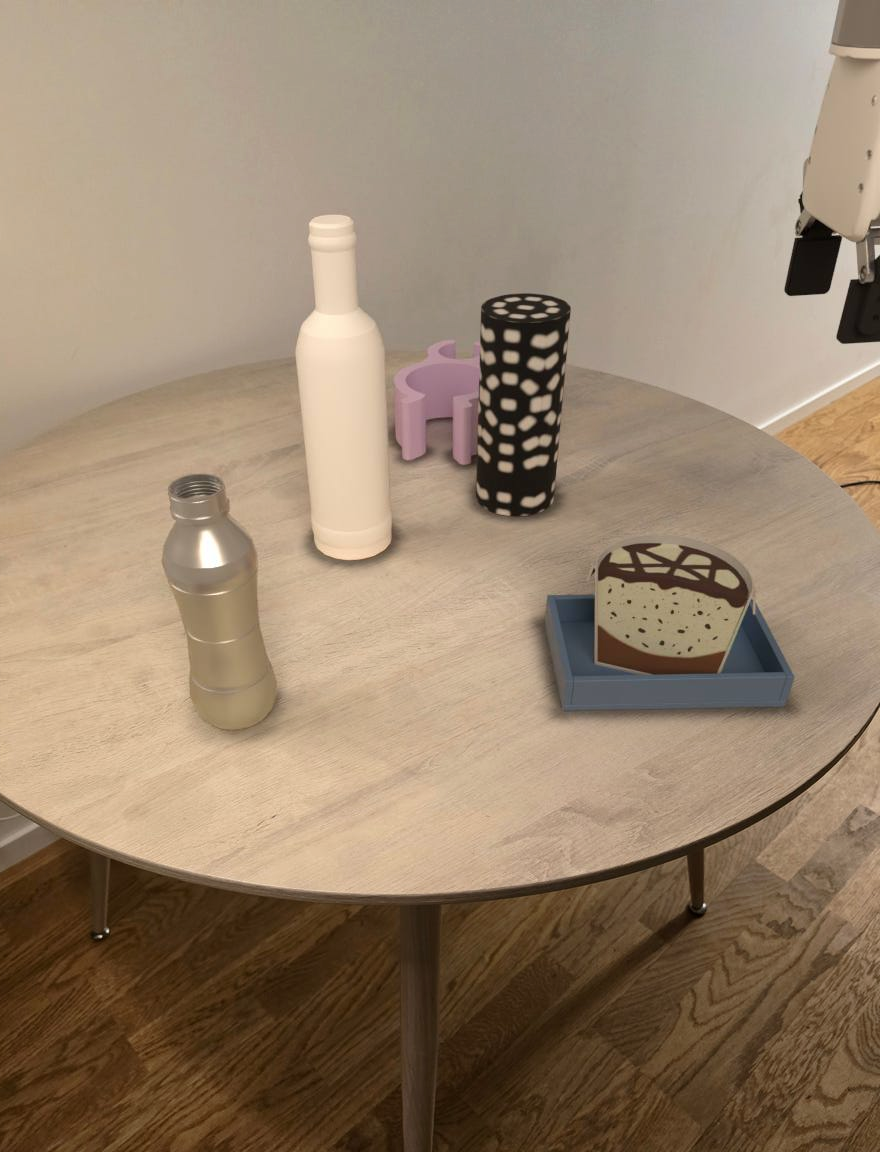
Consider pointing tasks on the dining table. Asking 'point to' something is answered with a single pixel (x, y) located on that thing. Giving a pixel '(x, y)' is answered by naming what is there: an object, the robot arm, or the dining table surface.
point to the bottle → (343, 403)
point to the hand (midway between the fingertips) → (831, 316)
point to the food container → (668, 604)
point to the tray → (743, 682)
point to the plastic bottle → (218, 604)
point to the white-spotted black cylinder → (520, 401)
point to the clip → (438, 400)
